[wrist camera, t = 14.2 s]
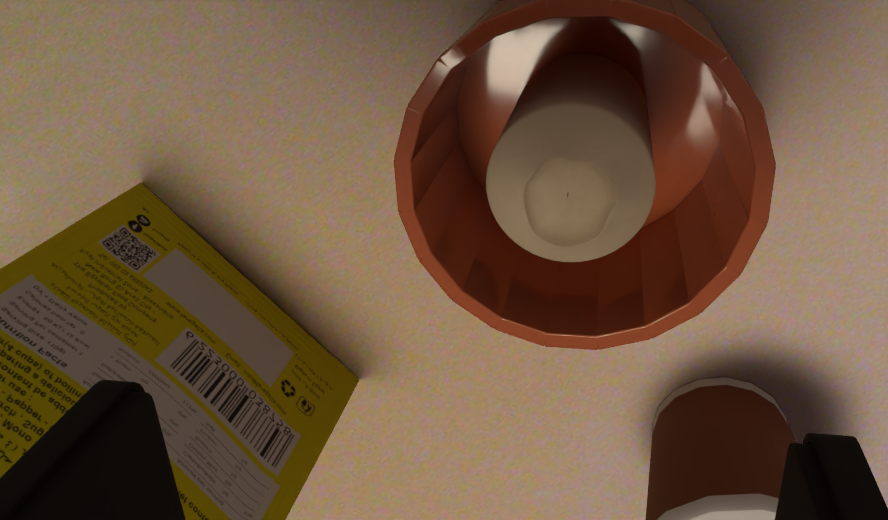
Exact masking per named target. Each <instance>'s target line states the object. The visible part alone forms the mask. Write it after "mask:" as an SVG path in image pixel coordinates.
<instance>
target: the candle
mask: <svg viewBox="0 0 888 520" xmlns="http://www.w3.org/2000/svg"><path fill="white" fill-rule="evenodd" d="M655 186H656V180H655V169H654V160H653V151H652V142H651V133H650V125H649V116H648V109H647V105H646V100H645V97H644V94H643V92H642V90H641V88H640V86H639V84H638V83H637V81H636V80H635V79H634V77H633V76H632V75H631V74H630V73H629V72H628V71H627V70H626V69H625V68H623V67H622V66H621V65H619V64H618V63H616V62H614V61H612V60H610V59H608V58H605V57H602V56H598V55H592V54H575V55H569V56H565V57H562V58H559V59H557V60H554V61H552V62H550V63H549V64H547V65H545V66H544V67H542V68H541V69H540V70H539V71H537V72H536V73H535V74H534V76H533V77H532V78H531V79H530V80H529V82H528V83H527V84H526V86H525V87H524V89H523V91H522V93H521V95H520V96H519V98H518V100H517V103H516V105H515V107H514V109H513V111H512V113H511V115H510V117H509V119H508V121H507V123H506V125H505V127H504V129H503V131H502V133H501V136H500V138H499V140H498V142H497V144H496V146H495V148H494V150H493V153H492V155H491V158H490V160H489V164H488V168H487V176H486V191H487V197H488V202H489V205H490V208H491V211H492V213H493V215H494V217H495V219H496V221H497V222H498V224H499V225H500V227H501V228H502V230H503V231H504V232H505V233H506V234H507V235H508V236H509V237H510V238H511V239H512V240H513V241H514V242H515V243H516V244H518V245H519V246H521V247H522V248H523V249H525V250H527V251H529V252H531V253H532V254H535V255H537V256H540V257H542V258H546V259H550V260H554V261H560V262H582V261H588V260H593V259H597V258H600V257H603V256H605V255H608V254H610V253H612V252H614V251H616V250H617V249H619V248H620V247H622V246H623V245H625V244H626V243H627V242H628V241H629V240H631V239H632V238H633V237H634V235H635V234H636V233H637V232H638V231H639V230H640V228H641V227H642V226H643V224H644V223H645V221H646V219H647V217H648V215H649V213H650V210H651V208H652V205H653V201H654V196H655Z"/></svg>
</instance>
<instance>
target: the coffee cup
mask: <svg viewBox="0 0 888 520" xmlns="http://www.w3.org/2000/svg"><path fill="white" fill-rule="evenodd" d="M652 431H653V434H652V447H651V459H650V472H649V485H648V497H647V510H646V520H775V515H776V510H777V505H778V499H779V494H780V488H781V483H782V478H783V472H784V467H785V461H786V456H787V451H788V447H789V445H790V443H796V441H795V439H794V437H793V434H792V432H791V430H790V428H789V426H788V423H787V420H786V417H785V415H784V413H783V412H782V410H781V409H780V407H779V406H778V404H777V403H776V401H775V400H774V398H773V397H772V396H770V395H769V394H767V393H766V392H764V391H763V390H761V389H760V388H758V387H757V386H755V385H753V384H752V383H748V382H744V381H739V380H735V379H731V378H727V377H722V378H710V379H698V380H696V381H694V382H691V383H689V384H687V385H684V386H682V387H680V388H678V389H675V390H674V391H673V392H672V393H671V394H670V395H669V396H668V397H667V398H666V399H665V400H664V401H663V402H662V403H661V404H660V405H659V407H658V410H657V413H656V415H655V418H654V421H653V424H652Z"/></svg>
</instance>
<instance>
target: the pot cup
mask: <svg viewBox="0 0 888 520" xmlns="http://www.w3.org/2000/svg"><path fill="white" fill-rule="evenodd" d="M575 54H592V55H598V56H602V57H605V58H608V59H610V60H612V61H614V62H616V63H618V64H619V65H621V66H622V67H623V68H625V69H626V70H627V71H628V72H629V73H630V74H631V75H632V76H633V77H634V79H635V80H636V81H637V83H638V84H639V86H640V88H641V90H642V92H643V94H644V97H645V100H646V105H647V109H648V116H649V125H650V133H651V142H652V151H653V160H654V169H655V180H656V186H655V196H654V201H653V205H652V208H651V210H650V213H649V215H648V217H647V219H646V221H645V223H644V224H643V226H642V227H641V228H640V230H639V231H638V232H637V233H636V234H635V235H634V237H633V238H632V239H631V240H629V241H628V242H627V243H626V244H625V245H623V246H622V247H620V248H619V249H617V250H616V251H614V252H612V253H610V254H608V255H605V256H603V257H600V258H597V259H593V260H588V261H582V262H560V261H554V260H550V259H546V258H542V257H540V256H537V255H535V254H532V253H531V252H529V251H527V250H525V249H523V248H522V247H521V246H519V245H518V244H516V243H515V242H514V241H513V240H512V239H511V238H510V237H509V236H508V235H507V234H506V233H505V232H504V231H503V230H502V228H501V227H500V225H499V224H498V222H497V221H496V219H495V217H494V215H493V213H492V211H491V208H490V205H489V202H488V197H487V191H486V176H487V168H488V164H489V160H490V158H491V155H492V153H493V150H494V148H495V146H496V144H497V142H498V140H499V138H500V136H501V133H502V131H503V129H504V127H505V125H506V123H507V121H508V119H509V117H510V115H511V113H512V111H513V109H514V107H515V105H516V103H517V100H518V98H519V96H520V95H521V93H522V91H523V89H524V87H525V86H526V84H527V83H528V82H529V80H530V79H531V78H532V77H533V76H534V74H535V73H536V72H537V71H539V70H540V69H541V68H542V67H544V66H545V65H547V64H549V63H550V62H552V61H554V60H557V59H559V58H562V57H565V56H569V55H575ZM394 158H395V160H394V168H395V180H396V192H397V204H398V212H399V215H400V217H401V220H402V222H403V224H404V227H405V229H406V232H407V234H408V236H409V239H410V241H411V244H412V246H413V248H414V251H415V253H416V256H417V258H418V259H419V261H420V263H421V264H422V265H423V266H424V267H425V269H426V270H427V271H428V272H429V274H430V275H431V276H432V277H433V278H434V280H435V281H436V282H437V283H438V284H439V286H440V287H441V288H442V289H443V290H444V292H445V293H446V294H447V295H448V297H449V298H450V299H452V300H453V301H454V302H455V303H457V304H458V305H460V306H461V307H462V308H464V309H465V310H467V311H468V312H470V313H471V314H473V315H474V316H476V317H477V318H479V319H480V320H481V321H483V322H484V323H486V324H487V325H489V326H490V327H492V328H495V330H498V331H501V332H504V333H507V334H509V335H512V336H515V337H518V338H521V339H524V340H527V341H530V342H533V343H536V344H539V345H542V346H544V345H545V346H546V347H561V348H577V349H592V350H597V349H605V348H609V347H614V346H619V345H624V344H629V343H634V342H639V341H644V340H649V339H651V338H654V337H656V336H658V335H660V334H662V333H664V332H666V331H668V330H670V329H672V328H674V327H675V326H677V325H679V324H681V323H683V322H685V321H687V320H689V319H691V318H693V317H695V316H697V315H699V314H700V313H701V312H703V311H704V310H705V309H706V308H707V307H708V306H709V305H710V304H711V303H712V302H713V301H714V300H715V299H716V298H717V297H718V296H719V295H720V294H721V293H722V292H723V291H724V290H725V289H726V288H727V287H728V286H729V285H730V284H732V283H733V282H734V281H735V280H736V279H737V278H738V277H739V276H740V273H742V272H743V270H744V268H745V266H746V264H747V262H748V260H749V258H750V256H751V254H752V252H753V251H754V249H755V247H756V245H757V243H758V241H759V239H760V237H761V235H762V233H763V231H764V229H765V228H766V226H767V223H768V219H769V212H770V204H771V197H772V190H773V183H774V176H775V169H776V167H775V164H776V163H775V159H774V154H773V150H772V145H771V141H770V136H769V132H768V127H767V122H766V118H765V113H764V109H763V107H762V104H761V103H760V101H759V99H758V98H757V96H756V95H755V93H754V92H753V90H752V88H751V87H750V85H749V84H748V82H747V81H746V79H745V77H744V76H743V74H742V73H741V71H740V70H739V68H738V66H737V65H736V63H735V62H734V60H733V59H732V57H731V55H730V54H729V52H728V51H727V49H726V48H725V46H724V45H723V43H722V41H721V40H720V38H719V37H718V35H717V34H716V32H715V31H714V29H713V28H712V26H711V25H710V23H709V22H708V20H707V18H706V17H705V15H704V14H703V13H702V12H701V11H700V10H699V9H698V8H696V7H695V6H694V5H692V4H691V3H690V2H689V1H687V0H502V1H500V2H499V3H498V4H497V5H495V6H494V7H493V8H492V9H490V10H489V11H488V12H487V13H485V14H484V15H483V16H482V17H481V18H480V19H479V20H478V21H476V22H475V23H474V24H473V25H472V26H471V27H470V28H469V29H468V30H467V31H466V32H465V33H464V34H463V35H462V36H460V37H459V38H458V39H457V40H456V41H455V42H454V43H453V44H452V45H451V46H450V47H449V48H448V49H447V50H446V51H444V52H443V53H442V54H441V55H440V57H439V58H438V59H437V60H436V61H435V63H434V64H433V66H432V68H431V69H430V71H429V72H428V74H427V75H426V77H425V79H424V80H423V82H422V83H421V85H420V86H419V88H418V89H417V91H416V93H415V94H414V96H413V97H412V99H411V100H410V102H409V104H408V107H407V108H406V112H405V116H404V120H403V124H402V128H401V132H400V136H399V140H398V145H397V149H396V153H395V157H394Z"/></svg>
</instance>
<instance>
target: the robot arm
mask: <svg viewBox="0 0 888 520" xmlns="http://www.w3.org/2000/svg"><path fill="white" fill-rule="evenodd" d="M0 520H185V515H184V511H183V508H182V504H181V500H180V496H179V493H178V489H177V485H176V482H175V478H174V474H173V470H172V467H171V463H170V459H169V455H168V452H167V448H166V444H165V441H164V437H163V433H162V429H161V426H160V422H159V418H158V414H157V411H156V407H155V403H154V400H153V398H152V396H151V395H150V394H149V393H147V392H145V390H144V388H143V387H142V386H141V385H140V383H136V382H128V381H115V380H101V381H99V382H97V383H96V384H94V385H93V386H92V387H91V388H90V389H89V390H88V391H87V392H86V393H85V394H84V395H83V396H82V397H81V398H80V399H79V400H78V401H77V402H76V403H75V404H74V405H73V406H72V407H71V408H70V409H69V410H68V411H67V412H66V413H65V414H64V415H63V416H62V417H61V418H60V419H59V420H58V421H57V422H56V423H55V424H54V425H53V426H52V427H51V428H50V429H49V430H48V431H47V432H46V433H45V434H44V435H43V436H42V437H41V438H40V439H39V440H38V441H37V442H36V443H35V444H34V445H33V446H32V447H31V448H30V449H29V450H28V451H27V452H26V453H25V454H24V455H23V456H22V457H21V458H20V459H19V460H18V461H17V462H16V463H15V464H14V465H13V466H12V467H11V468H10V469H9V470H8V471H7V472H6V473H5V474H4V475H3V476H2V477H1V478H0ZM775 520H888V508H887V506H886V504H885V501H884V499H883V497H882V494H881V492H880V490H879V488H878V485H877V483H876V481H875V479H874V476H873V474H872V472H871V469H870V467H869V465H868V463H867V460H866V458H865V456H864V453H863V451H862V449H861V447H860V444H859V442H858V441H857V439H856V438H855V437H853V436H842V435H829V434H816V433H808V434H806V436H805V438H804V440H803V444H802V443H790V445H789V447H788V451H787V456H786V461H785V467H784V472H783V478H782V483H781V488H780V494H779V499H778V505H777V510H776V515H775Z"/></svg>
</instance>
